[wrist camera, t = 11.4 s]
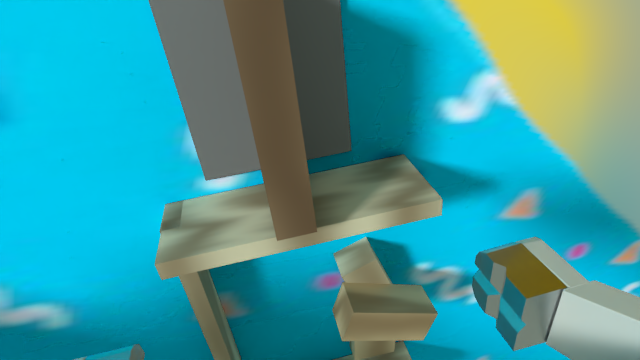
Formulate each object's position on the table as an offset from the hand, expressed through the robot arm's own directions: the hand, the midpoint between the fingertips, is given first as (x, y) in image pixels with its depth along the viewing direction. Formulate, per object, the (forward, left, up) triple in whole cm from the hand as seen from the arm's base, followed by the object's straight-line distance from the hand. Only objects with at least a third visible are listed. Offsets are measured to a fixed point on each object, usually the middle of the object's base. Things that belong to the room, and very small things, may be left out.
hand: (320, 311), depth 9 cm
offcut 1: (+6, -18, -18) cm, 26 cm away
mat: (0, 0, -18) cm, 18 cm away
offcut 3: (+6, -26, -18) cm, 32 cm away
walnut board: (0, 0, -17) cm, 17 cm away
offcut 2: (+6, -18, -15) cm, 24 cm away
